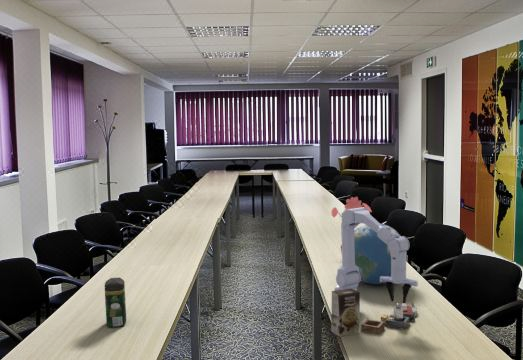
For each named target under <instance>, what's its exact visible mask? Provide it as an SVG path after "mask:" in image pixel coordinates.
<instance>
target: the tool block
mask: <svg viewBox="0 0 523 360" xmlns="http://www.w3.org/2000/svg"><path fill="white" fill-rule="evenodd" d="M388 317H391V318H393V320H391V319H388V318H387V319H386V324H385V327H386V328H387V327H388V328H394V329H401V330H406V329H407V328H408V326H409V325H410V321H409V317H403V322H401V321H394V314H390V315H388Z"/></svg>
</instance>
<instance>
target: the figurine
mask: <svg viewBox="0 0 523 360" xmlns="http://www.w3.org/2000/svg"><path fill="white" fill-rule="evenodd" d="M345 202H346V204H345V205H344V211H345V210H346V209H354V208H360V207H364V208H366V209H367V210H368V211H369V212H370V213H372V212H373V211H372V209H371V208H370V206H369V205H368V204H367V203H364V202H362V200H359V197H358V196H355V197H353V196H352V197H350V198H347V199H346V201H345ZM337 215H339V217H340V218H342V214H341V213H340V212H339V210H338V208H337V207H335V206H334V207H333V208H332V209H331V216H332V217H333V218H336V217H337ZM355 230H356V229H354V231H355ZM340 252H341V253H342V244H340Z"/></svg>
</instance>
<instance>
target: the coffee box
mask: <svg viewBox="0 0 523 360" xmlns="http://www.w3.org/2000/svg"><path fill="white" fill-rule="evenodd" d="M360 302H361V292H360V291H358V290H357V291H356V290H353V289H351V288H350V289H343V290H336V291H334V290H331V320H330V322H331V326H330V327H331V328H330V332H332V333H333V334H334V335H336V336H338V337H346V336H352V335H356V334H360V313H361V312H360V310H361V309H360V306H361V303H360Z"/></svg>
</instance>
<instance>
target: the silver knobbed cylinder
mask: <svg viewBox="0 0 523 360" xmlns="http://www.w3.org/2000/svg"><path fill="white" fill-rule="evenodd" d="M393 315H394V321H401V322H403V307H401V302H400V303H399V302H396V303H395V306H393Z"/></svg>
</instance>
